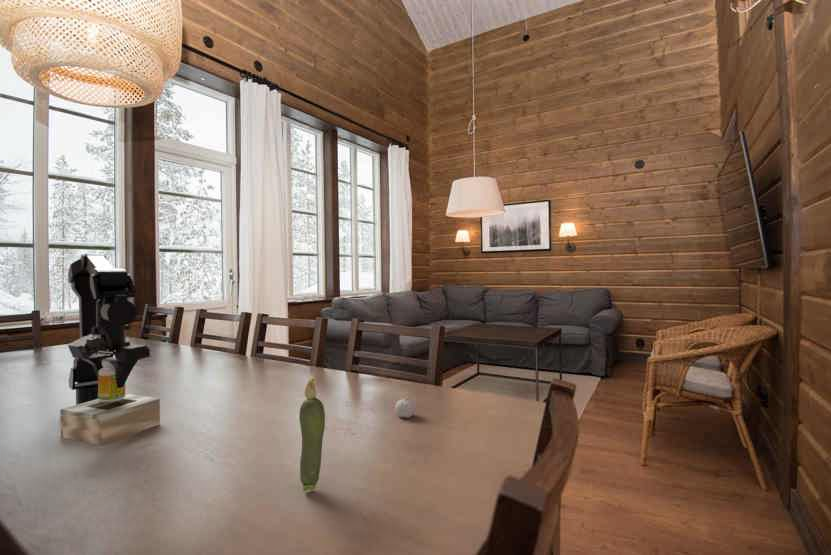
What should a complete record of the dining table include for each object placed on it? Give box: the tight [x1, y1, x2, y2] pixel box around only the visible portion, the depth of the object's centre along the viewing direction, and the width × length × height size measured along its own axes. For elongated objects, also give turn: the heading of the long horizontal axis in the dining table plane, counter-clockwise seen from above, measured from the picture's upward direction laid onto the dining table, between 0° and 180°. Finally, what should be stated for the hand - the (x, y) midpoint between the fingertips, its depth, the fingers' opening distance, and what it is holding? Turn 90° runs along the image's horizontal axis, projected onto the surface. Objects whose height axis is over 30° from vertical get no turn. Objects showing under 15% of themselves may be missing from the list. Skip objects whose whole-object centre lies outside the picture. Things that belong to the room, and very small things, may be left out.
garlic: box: [394, 397, 416, 419], centre depth 114 cm, size 6×5×5 cm
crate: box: [59, 393, 161, 446], centre depth 104 cm, size 14×14×6 cm
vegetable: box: [299, 378, 326, 492], centre depth 76 cm, size 4×4×20 cm
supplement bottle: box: [98, 356, 126, 402], centre depth 104 cm, size 5×5×10 cm
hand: (111, 386), depth 104 cm, fingers closed on supplement bottle, 5 cm apart
